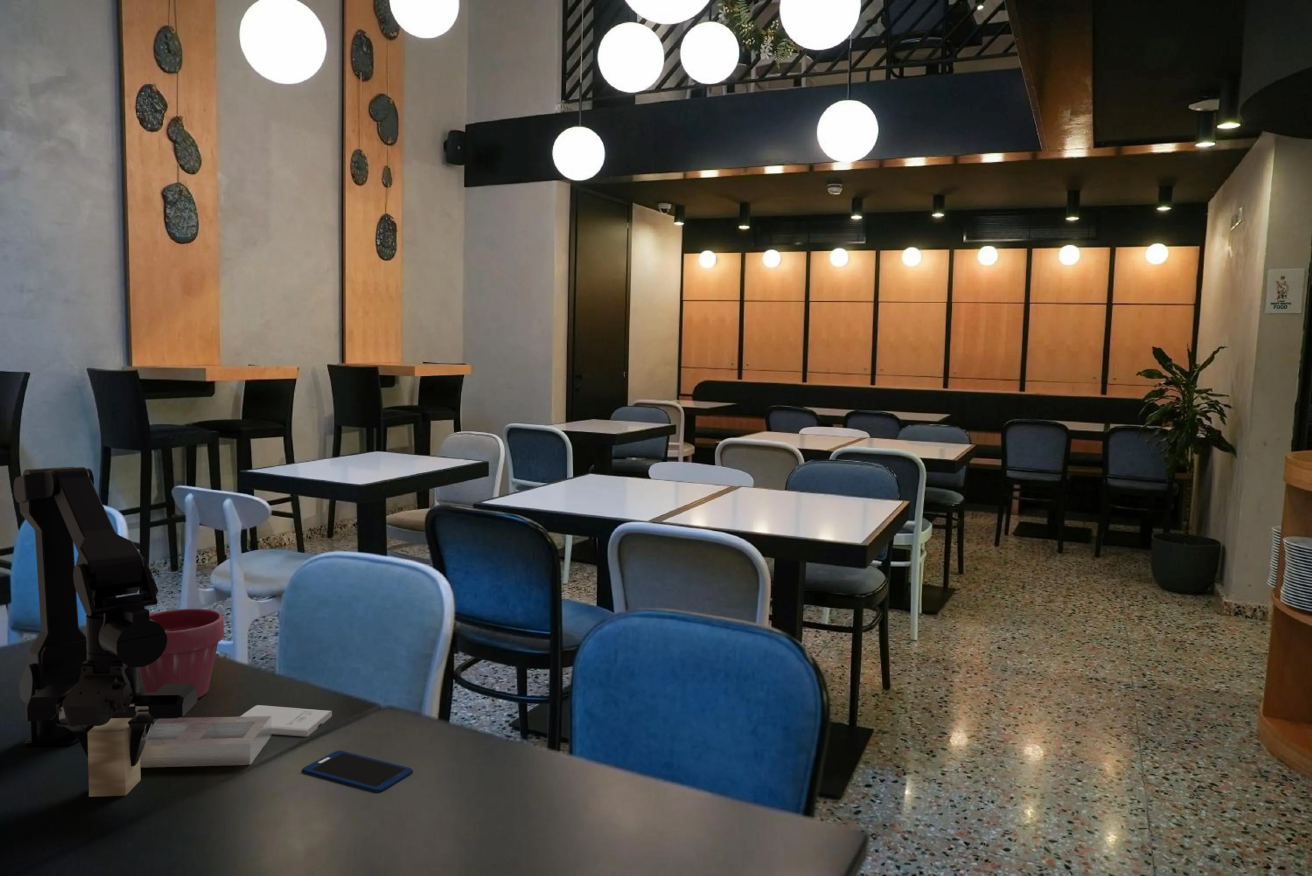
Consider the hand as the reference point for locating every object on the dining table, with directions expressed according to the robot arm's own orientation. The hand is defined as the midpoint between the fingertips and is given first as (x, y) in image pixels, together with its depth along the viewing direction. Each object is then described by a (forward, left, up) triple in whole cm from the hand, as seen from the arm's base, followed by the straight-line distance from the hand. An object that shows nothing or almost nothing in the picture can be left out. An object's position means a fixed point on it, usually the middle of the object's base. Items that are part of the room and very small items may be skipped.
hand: (114, 765), depth 119 cm
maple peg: (0, 0, -3) cm, 3 cm away
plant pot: (-5, +34, -3) cm, 35 cm away
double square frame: (+6, +11, -3) cm, 13 cm away
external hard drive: (+15, +21, -4) cm, 26 cm away
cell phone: (+30, +3, -4) cm, 30 cm away
